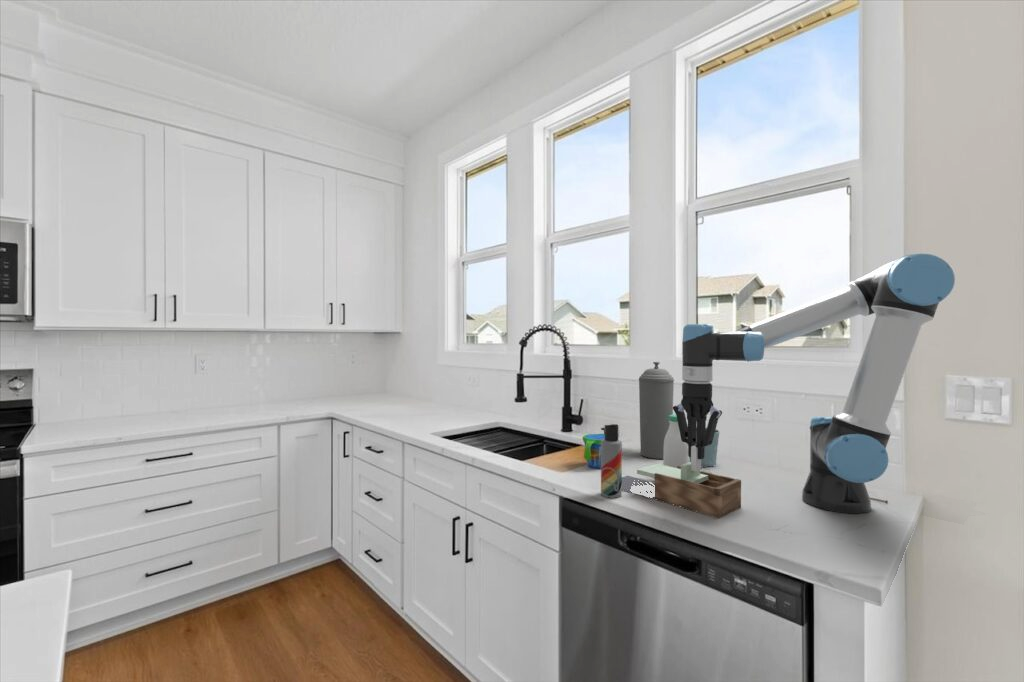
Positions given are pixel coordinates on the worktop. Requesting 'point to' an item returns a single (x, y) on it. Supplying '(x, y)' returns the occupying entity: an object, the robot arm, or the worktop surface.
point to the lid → (674, 472)
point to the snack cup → (593, 449)
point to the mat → (629, 480)
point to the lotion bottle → (611, 463)
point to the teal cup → (710, 451)
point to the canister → (655, 410)
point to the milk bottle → (674, 446)
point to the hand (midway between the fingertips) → (696, 470)
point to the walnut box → (700, 493)
